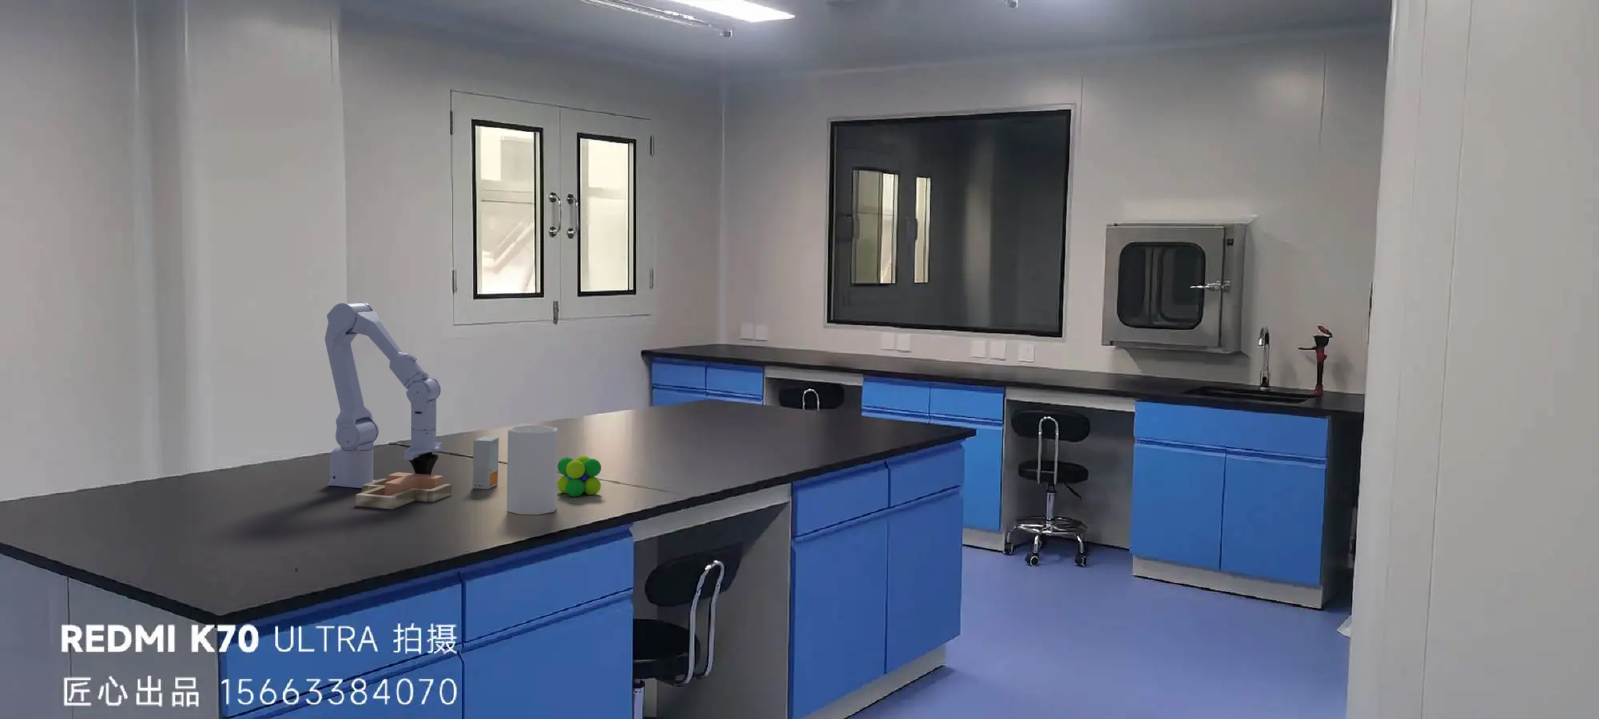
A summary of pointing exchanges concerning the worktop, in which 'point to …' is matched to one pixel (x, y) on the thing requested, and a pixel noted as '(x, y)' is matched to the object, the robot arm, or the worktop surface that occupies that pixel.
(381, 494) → the nest
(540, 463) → the cup
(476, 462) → the skincare box
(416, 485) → the tee
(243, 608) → the worktop surface
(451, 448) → the worktop surface
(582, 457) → the molecule model
